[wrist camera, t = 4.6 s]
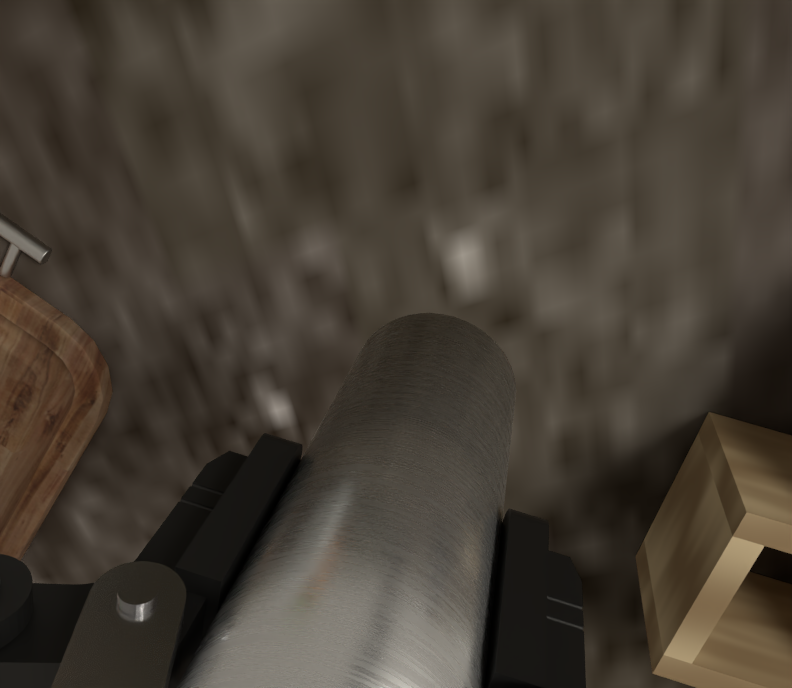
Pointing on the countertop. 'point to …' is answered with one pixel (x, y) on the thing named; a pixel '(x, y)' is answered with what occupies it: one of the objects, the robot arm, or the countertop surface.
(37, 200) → the countertop surface
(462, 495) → the hinge pin
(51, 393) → the chopping board
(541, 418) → the countertop surface
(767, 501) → the hinge
